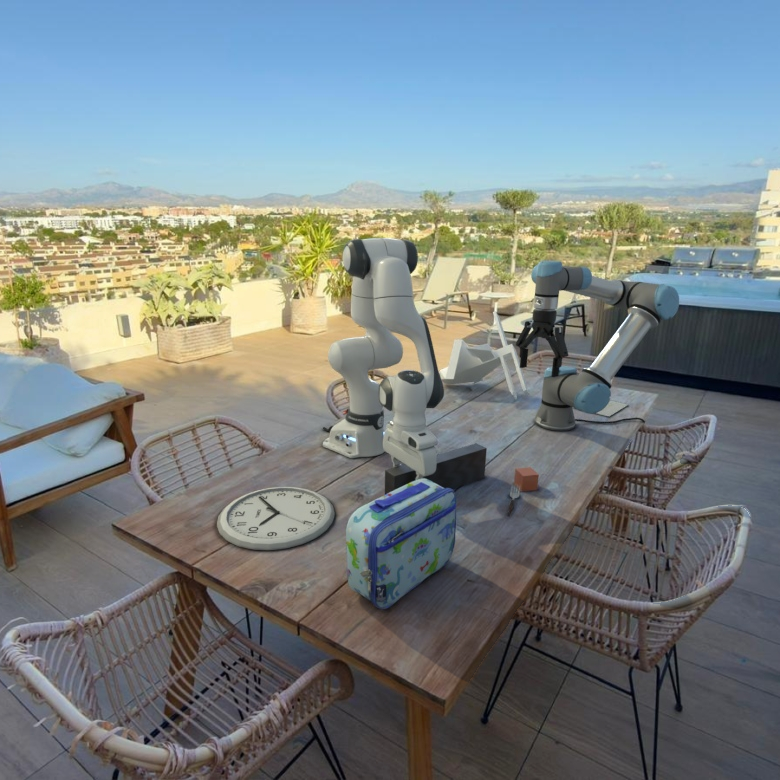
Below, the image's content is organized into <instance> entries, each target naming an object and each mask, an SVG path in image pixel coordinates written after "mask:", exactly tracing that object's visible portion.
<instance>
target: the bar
mask: <svg viewBox="0 0 780 780" xmlns="http://www.w3.org/2000/svg"><path fill="white" fill-rule="evenodd" d="M487 450H488V449H487V447H485V446H483V445H481V444H479V443H476V442H475V443H473V444H472V443H471V444H468V445H465V446H462V447H459V448H455V449H452V450H449V451H445V452H441V453H437V465H436V471H435V472H434V474H432V475H429V476H425V477H423V478H425V479H428V480H430V481H432V482H434V483H436V484H438V485H439V486H441V487H443V488H451V489H453V490H454V489H457V488H461V487H463V486H466V485H469V484H472V483H474V482H475V483H476V482H477V481H481V480H483V479H485V475H486V463H487ZM415 477H417V474H416V471H415V470H413V469H411V468H410V467H408V466H407V465H405V464H404V463H403V464H401V465H400V466H397V467H390V468H387V469H385V470H384V495H386V494H388V493H390V492H392V491H394V490H396V489H398V488H400V487H402V486H404V485H406V484H409V483H411V482H413V481H414V480H413V479H414V478H415Z"/></svg>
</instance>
